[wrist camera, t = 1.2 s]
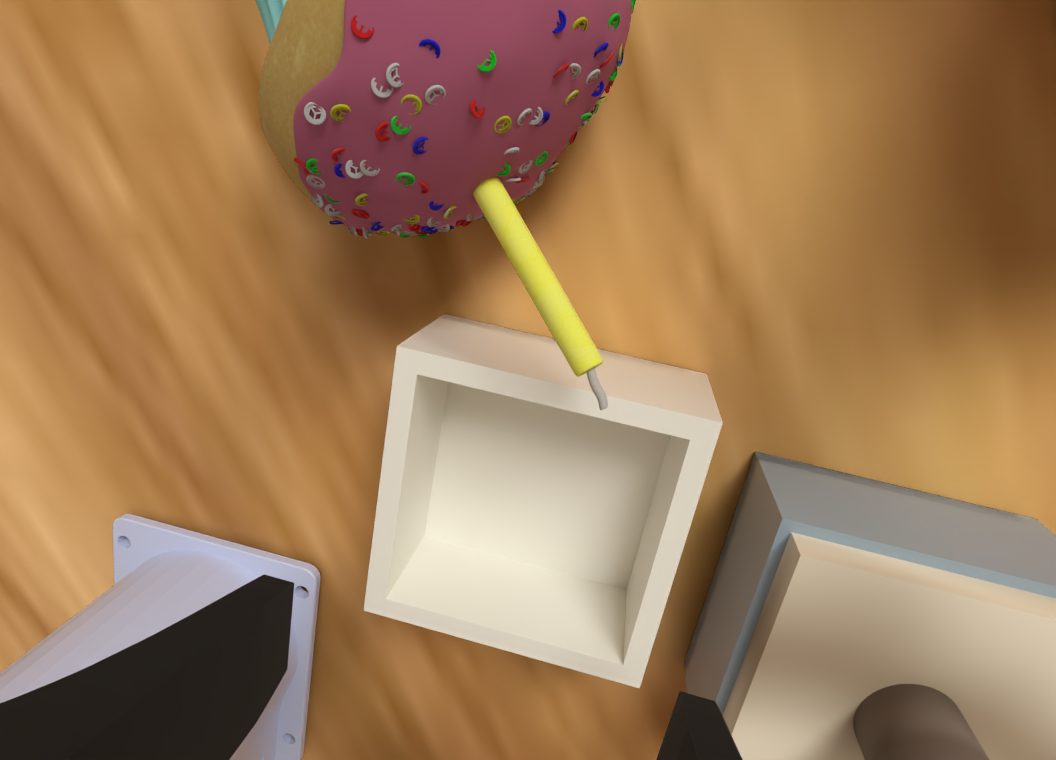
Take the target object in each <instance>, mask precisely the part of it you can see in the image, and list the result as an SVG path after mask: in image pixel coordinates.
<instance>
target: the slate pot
mask: <svg viewBox="0 0 1056 760" xmlns="http://www.w3.org/2000/svg"><path fill="white" fill-rule="evenodd" d="M791 532H793V533H797V534H801V535H805V536H809V537H813V538H817V539H820V540H824V541H828V542H832V543H836V544H840V545H844V546H848V547H852V548H856V549H860V550H864V551H868V552H872V553H876V554H880V555H884V556H888V557H892V558H896V559H900V560H904V561H908V562H912V563H916V564H920V565H924V566H928V567H932V568H936V569H940V570H944V571H948V572H952V573H956V574H960V575H964V576H968V577H972V578H976V579H980V580H984V581H988V582H992V583H996V584H1000V585H1004V586H1008V587H1012V588H1016V589H1020V590H1024V591H1028V592H1032V593H1036V594H1040V595H1044V596H1048V597H1052V598H1056V535H1055V534H1053V533H1052V532H1051V531H1050V530H1049V529H1048V528H1046V527H1045V526H1044V525H1043V524H1042V523H1041V522H1039V521H1038V520H1037V519H1034V518H1030V517H1026V516H1022V515H1018V514H1014V513H1009V512H1005V511H1001V510H997V509H993V508H989V507H984V506H980V505H976V504H972V503H968V502H964V501H959V500H955V499H951V498H947V497H943V496H938V495H934V494H930V493H926V492H922V491H918V490H913V489H909V488H905V487H901V486H897V485H893V484H888V483H884V482H880V481H876V480H872V479H868V478H863V477H859V476H855V475H851V474H847V473H843V472H838V471H834V470H830V469H826V468H822V467H817V466H813V465H809V464H805V463H801V462H797V461H792V460H788V459H784V458H780V457H776V456H772V455H767V454H763V453H759V452H755V453H754V456H753V459H752V462H751V465H750V468H749V471H748V474H747V477H746V480H745V483H744V486H743V489H742V492H741V495H740V498H739V501H738V504H737V507H736V510H735V513H734V516H733V519H732V521H731V524H730V527H729V530H728V533H727V536H726V539H725V542H724V545H723V548H722V551H721V554H720V557H719V560H718V563H717V566H716V569H715V572H714V575H713V578H712V581H711V584H710V587H709V590H708V593H707V596H706V599H705V602H704V605H703V608H702V611H701V614H700V617H699V619H698V622H697V625H696V628H695V631H694V634H693V637H692V640H691V643H690V646H689V649H688V652H687V655H686V658H685V661H684V667H685V678H686V690H687V693H688V694H692V695H695V696H699V697H702V698H706V699H709V700H713V701H715V702H716V704H717V705H718V707H719V709H720V711H721V713H722V715H723V713H724V710H725V707H726V705H727V702H728V699H729V697H730V694H731V691H732V689H733V686H734V683H735V681H736V678H737V675H738V673H739V670H740V667H741V665H742V662H743V659H744V657H745V654H746V651H747V649H748V646H749V643H750V641H751V638H752V635H753V633H754V630H755V627H756V625H757V622H758V619H759V617H760V614H761V611H762V609H763V606H764V603H765V600H766V598H767V595H768V592H769V590H770V587H771V584H772V582H773V579H774V576H775V574H776V571H777V568H778V566H779V563H780V560H781V558H782V555H783V552H784V550H785V547H786V544H787V542H788V539H789V536H790V534H791Z"/></svg>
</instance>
